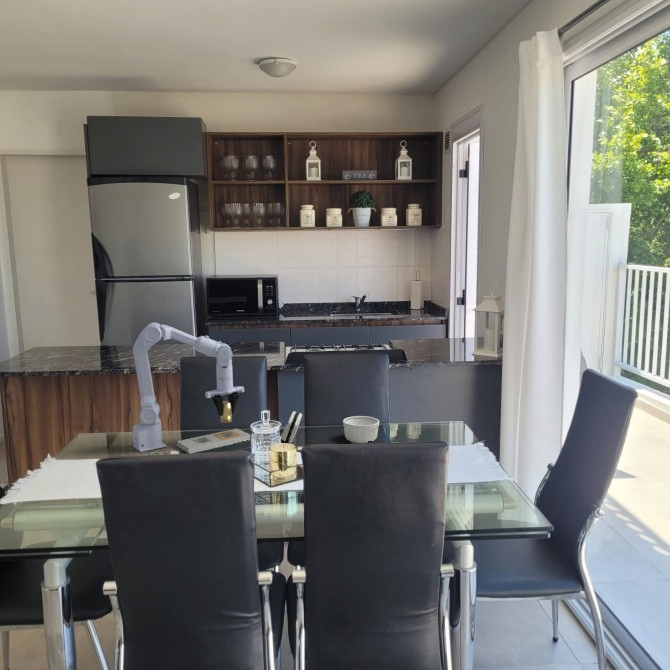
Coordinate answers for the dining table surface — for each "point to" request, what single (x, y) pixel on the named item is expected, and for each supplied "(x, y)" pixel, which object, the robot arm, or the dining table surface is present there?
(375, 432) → the ramekin
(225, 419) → the peg
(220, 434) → the grey rectangular board
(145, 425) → the robot arm
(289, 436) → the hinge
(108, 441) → the dining table surface
